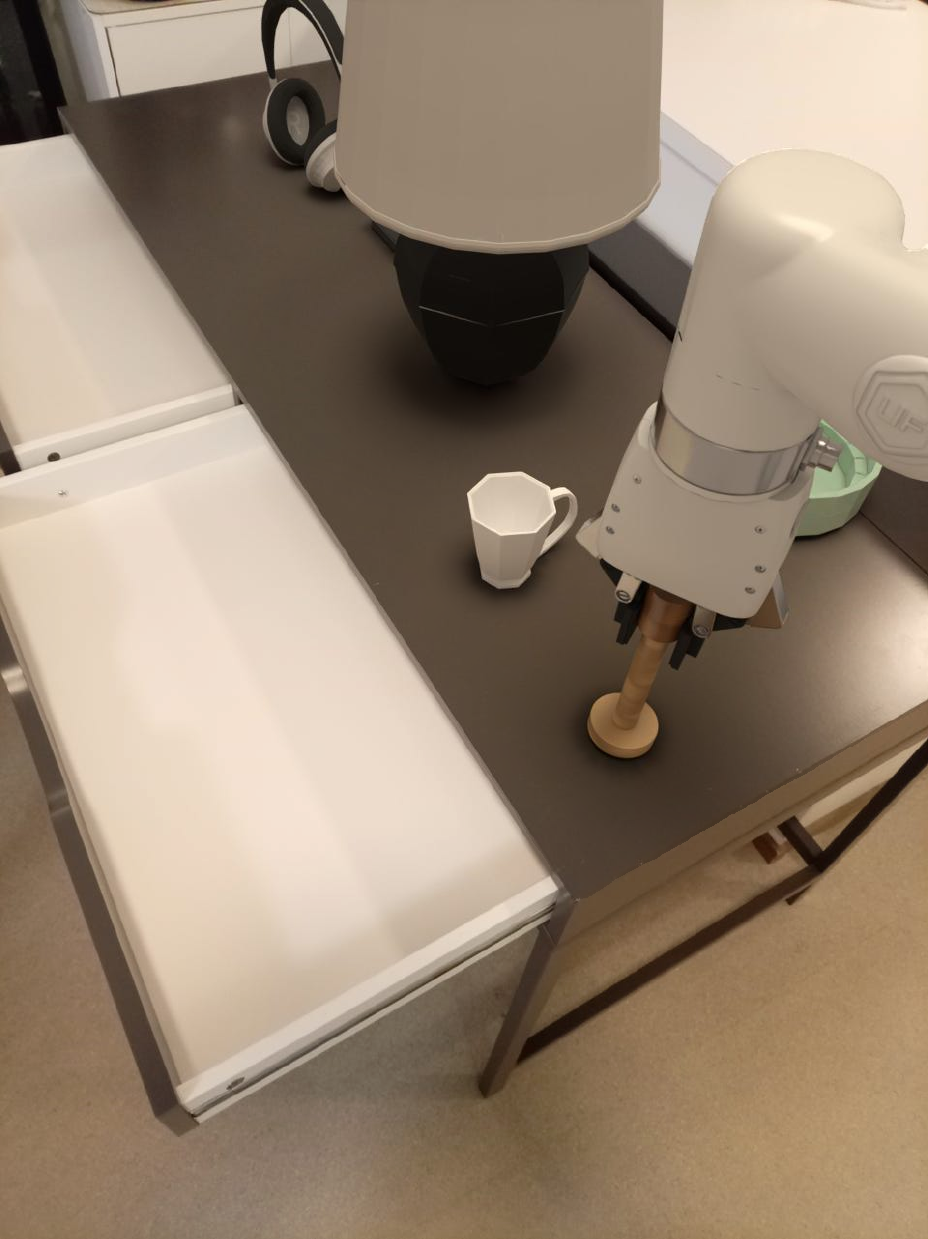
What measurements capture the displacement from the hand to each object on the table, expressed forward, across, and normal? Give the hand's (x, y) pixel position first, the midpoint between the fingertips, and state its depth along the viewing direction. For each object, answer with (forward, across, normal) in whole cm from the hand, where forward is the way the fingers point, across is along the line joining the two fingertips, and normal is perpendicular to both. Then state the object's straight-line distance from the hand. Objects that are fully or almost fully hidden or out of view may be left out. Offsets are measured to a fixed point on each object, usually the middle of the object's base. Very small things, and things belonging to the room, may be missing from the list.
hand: (655, 639), depth 58 cm
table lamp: (+10, +29, -30) cm, 43 cm away
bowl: (+10, -2, -30) cm, 32 cm away
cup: (+10, +14, -9) cm, 20 cm away
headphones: (+11, +65, -52) cm, 84 cm away
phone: (+10, +46, -50) cm, 69 cm away
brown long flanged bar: (+10, 0, +2) cm, 10 cm away
